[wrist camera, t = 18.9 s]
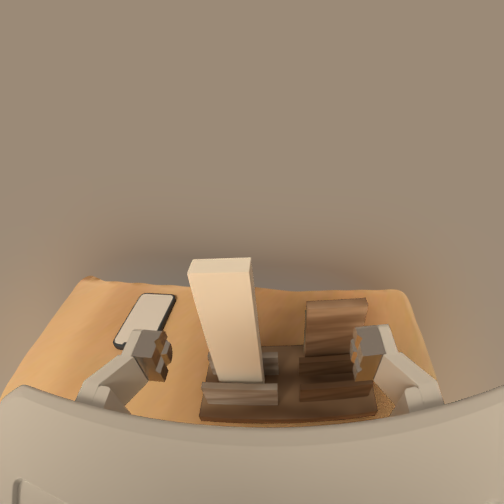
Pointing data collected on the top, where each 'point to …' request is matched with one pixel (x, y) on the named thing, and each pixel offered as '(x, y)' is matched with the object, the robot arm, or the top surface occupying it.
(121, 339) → the smartphone
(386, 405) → the top surface
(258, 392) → the rack
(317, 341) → the block
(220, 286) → the cream rectangular board
